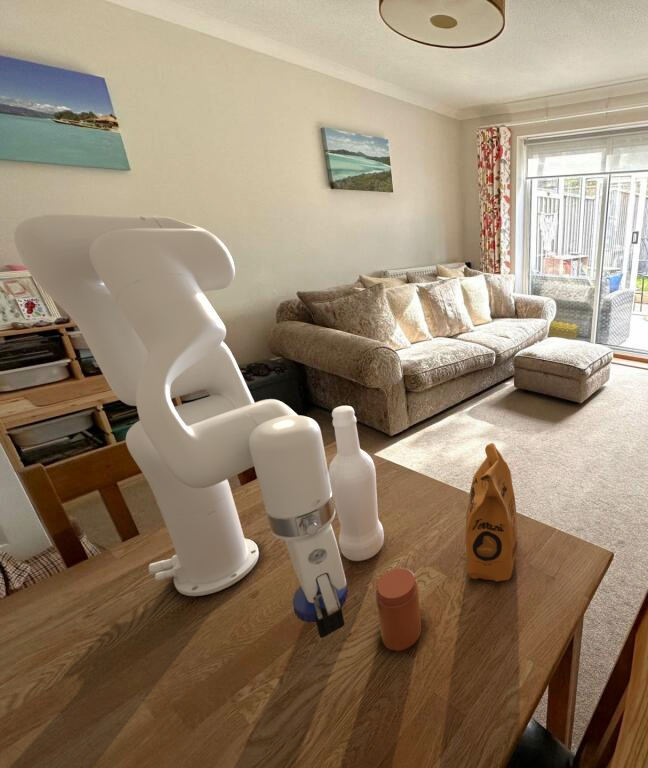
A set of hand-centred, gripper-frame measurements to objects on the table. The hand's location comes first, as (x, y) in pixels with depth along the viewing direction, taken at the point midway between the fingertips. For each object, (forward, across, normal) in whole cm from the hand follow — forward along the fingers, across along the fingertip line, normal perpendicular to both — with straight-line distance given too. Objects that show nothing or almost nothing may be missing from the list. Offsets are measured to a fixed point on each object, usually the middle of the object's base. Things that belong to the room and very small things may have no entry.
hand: (324, 610), depth 58 cm
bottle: (+7, +17, -11) cm, 21 cm away
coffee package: (+8, -1, -29) cm, 30 cm away
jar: (+7, -4, -9) cm, 13 cm away
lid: (-3, 0, 0) cm, 3 cm away
